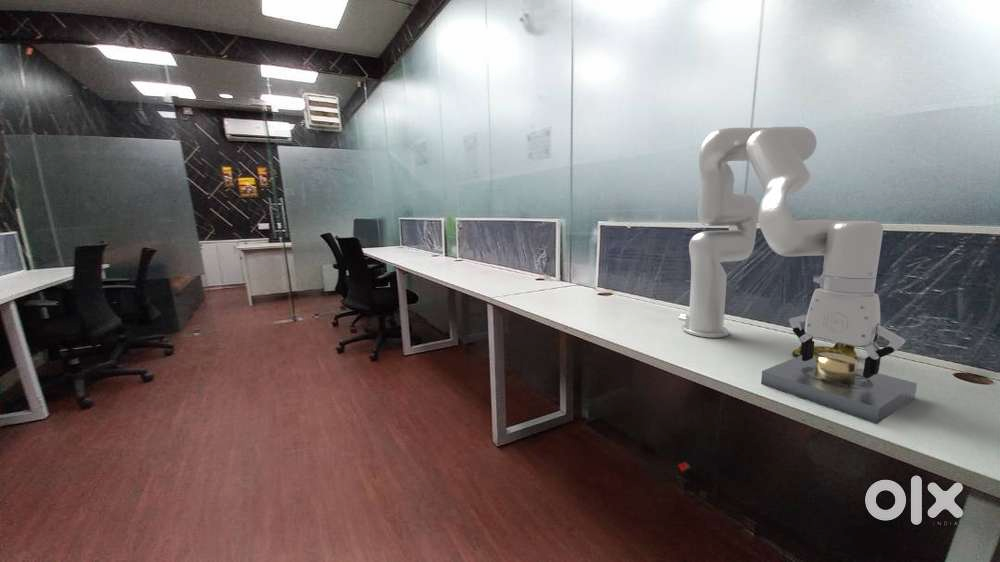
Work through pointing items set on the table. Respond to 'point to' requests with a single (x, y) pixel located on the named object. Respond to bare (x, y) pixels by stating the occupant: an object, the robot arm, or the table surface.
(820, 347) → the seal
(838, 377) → the gold cylinder
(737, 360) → the table surface
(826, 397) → the jig
